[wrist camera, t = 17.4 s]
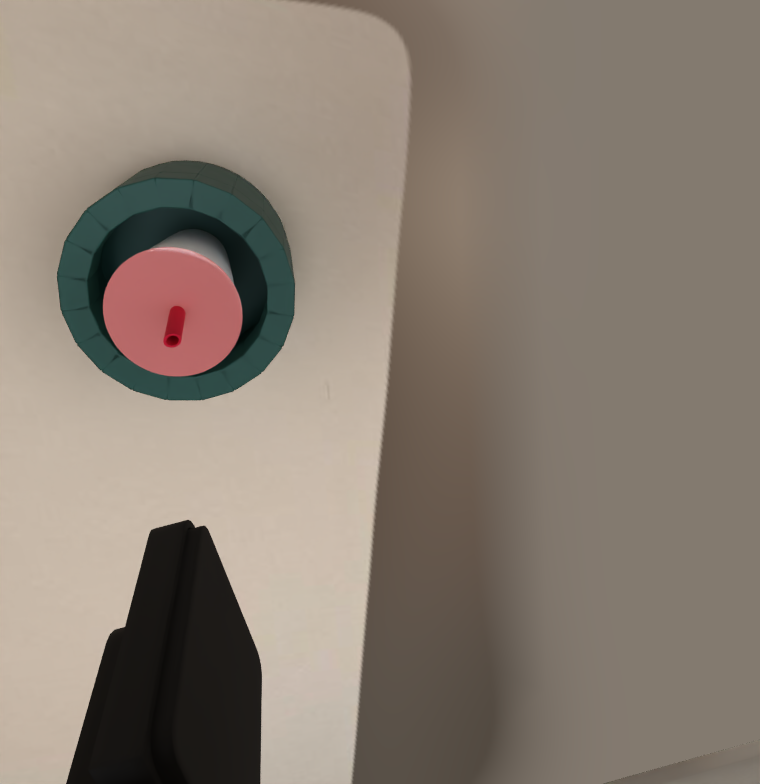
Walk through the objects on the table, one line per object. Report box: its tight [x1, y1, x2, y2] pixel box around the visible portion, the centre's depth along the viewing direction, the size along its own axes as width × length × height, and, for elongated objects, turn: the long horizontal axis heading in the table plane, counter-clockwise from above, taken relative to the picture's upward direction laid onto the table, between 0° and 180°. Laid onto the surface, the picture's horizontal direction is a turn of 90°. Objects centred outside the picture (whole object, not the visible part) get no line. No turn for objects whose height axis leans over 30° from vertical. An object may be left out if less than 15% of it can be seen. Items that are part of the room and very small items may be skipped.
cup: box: [103, 229, 243, 376], centre depth 31 cm, size 5×5×12 cm
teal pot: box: [57, 161, 295, 400], centre depth 33 cm, size 10×10×7 cm
